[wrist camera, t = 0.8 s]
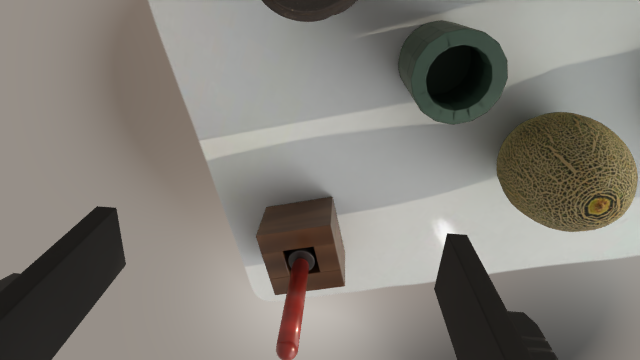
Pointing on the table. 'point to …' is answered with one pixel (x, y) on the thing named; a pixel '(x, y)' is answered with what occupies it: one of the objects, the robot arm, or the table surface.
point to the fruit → (567, 172)
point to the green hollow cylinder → (452, 71)
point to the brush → (294, 302)
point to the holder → (302, 243)
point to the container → (308, 8)
